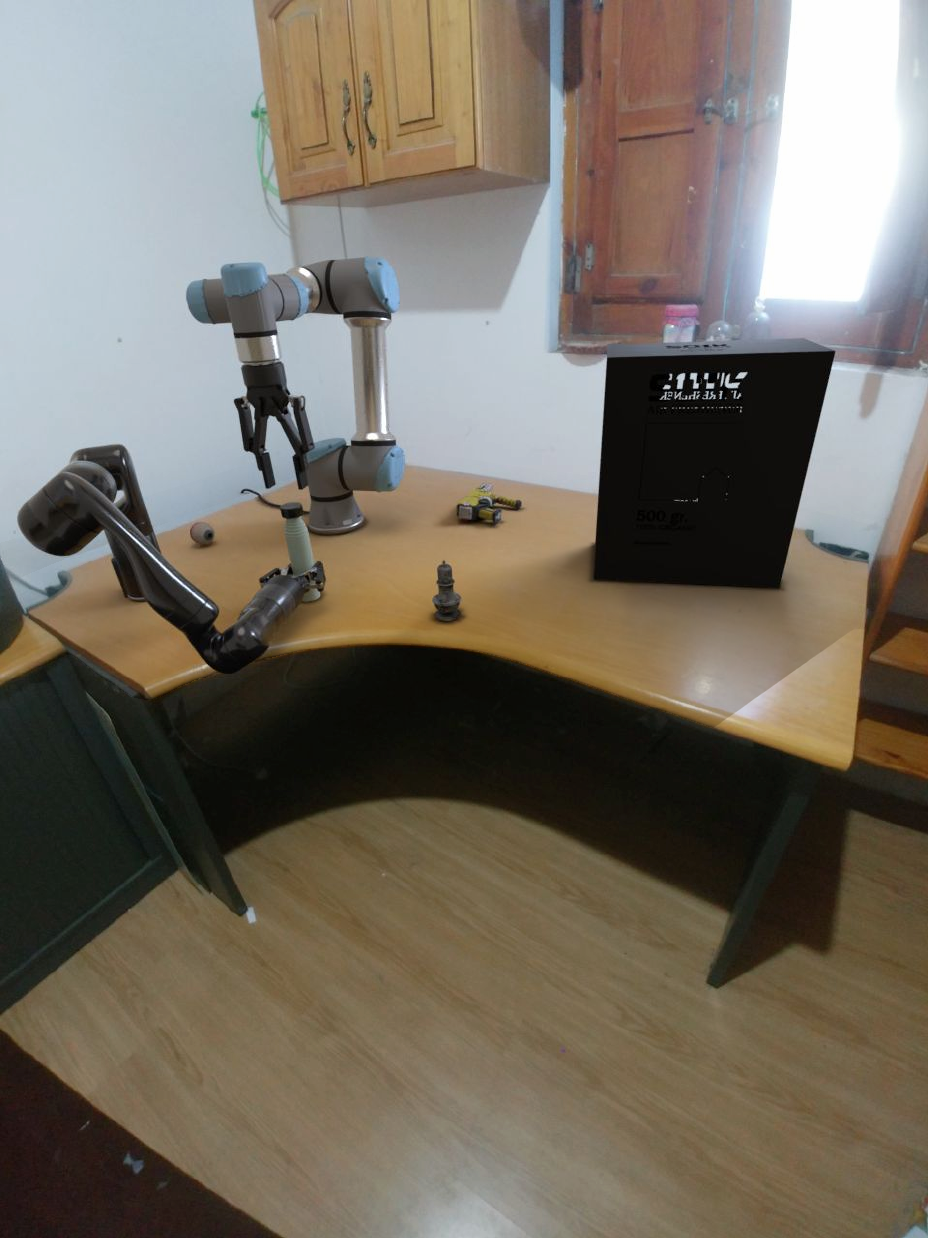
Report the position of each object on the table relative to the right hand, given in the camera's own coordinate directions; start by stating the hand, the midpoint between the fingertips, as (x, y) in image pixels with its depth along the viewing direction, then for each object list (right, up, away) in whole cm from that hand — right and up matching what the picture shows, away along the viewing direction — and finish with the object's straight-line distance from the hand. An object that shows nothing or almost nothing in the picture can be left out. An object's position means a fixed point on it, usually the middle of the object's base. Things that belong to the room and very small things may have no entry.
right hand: (287, 486), depth 120 cm
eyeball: (-34, -6, +42) cm, 55 cm away
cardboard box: (+84, -14, +17) cm, 87 cm away
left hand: (+1, -14, +11) cm, 18 cm away
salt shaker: (+32, -26, +2) cm, 41 cm away
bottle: (+1, -21, +12) cm, 25 cm away
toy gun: (+44, +5, +53) cm, 69 cm away
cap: (0, -4, +2) cm, 4 cm away
